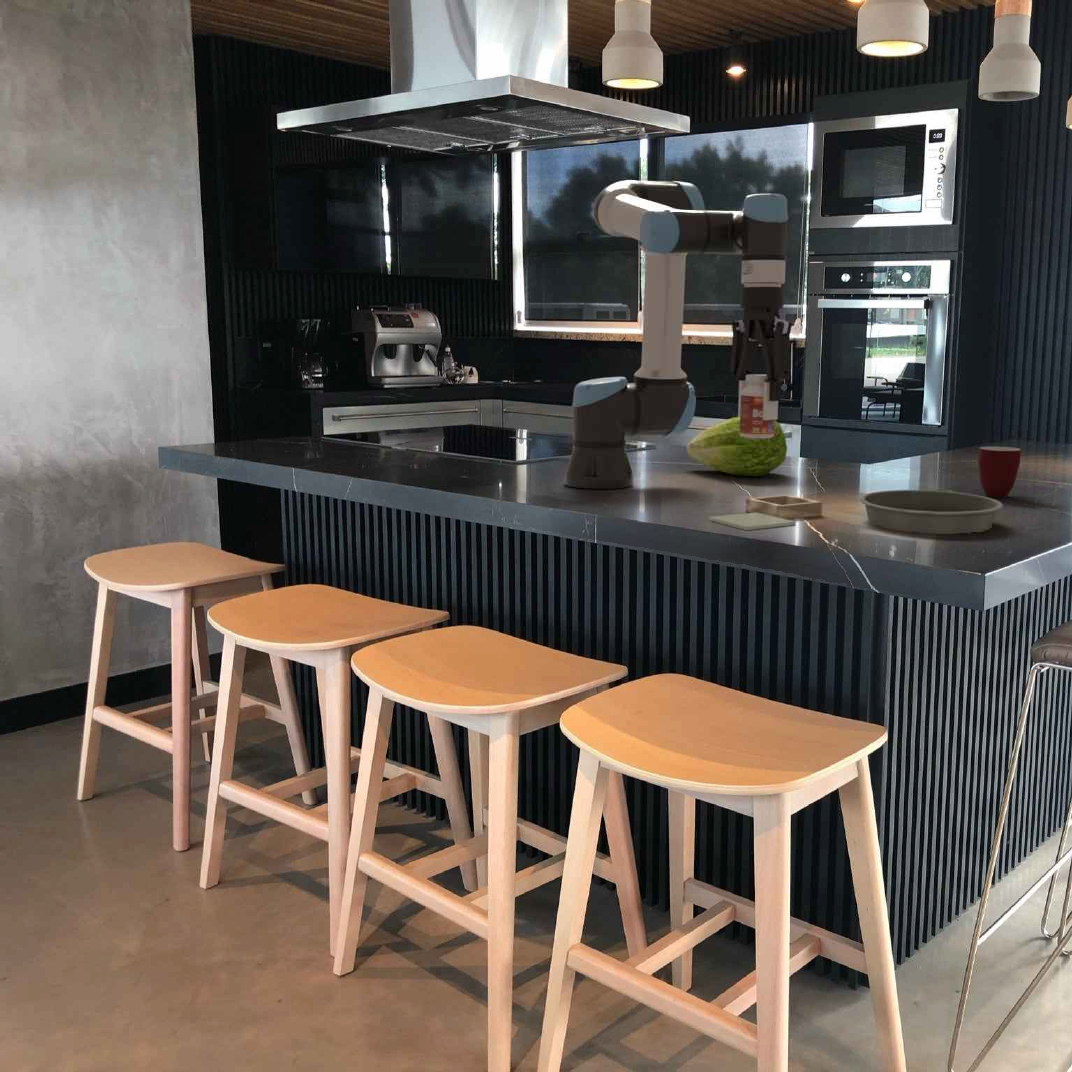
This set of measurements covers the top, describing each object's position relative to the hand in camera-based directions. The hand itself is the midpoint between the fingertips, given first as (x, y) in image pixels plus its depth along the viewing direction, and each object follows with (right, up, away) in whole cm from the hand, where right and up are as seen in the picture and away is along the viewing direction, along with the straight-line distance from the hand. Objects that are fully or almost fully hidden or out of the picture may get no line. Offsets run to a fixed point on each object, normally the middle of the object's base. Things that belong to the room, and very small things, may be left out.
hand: (757, 417), depth 206 cm
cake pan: (+32, -19, +4) cm, 37 cm away
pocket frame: (+7, -17, +13) cm, 22 cm away
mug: (+57, -13, +34) cm, 68 cm away
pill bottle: (0, -4, +1) cm, 4 cm away
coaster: (0, -19, +3) cm, 19 cm away
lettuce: (+7, -7, +67) cm, 68 cm away
